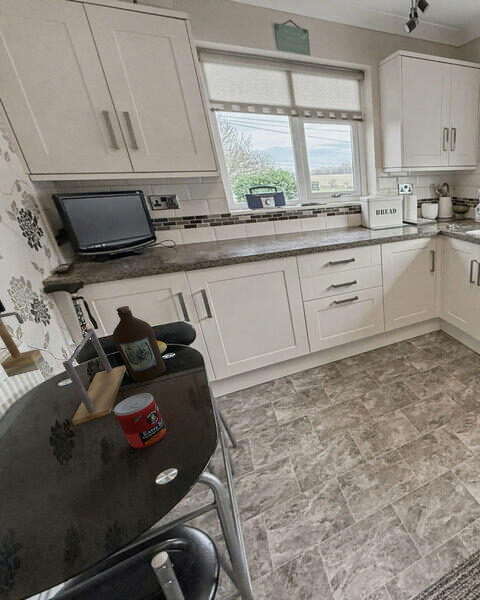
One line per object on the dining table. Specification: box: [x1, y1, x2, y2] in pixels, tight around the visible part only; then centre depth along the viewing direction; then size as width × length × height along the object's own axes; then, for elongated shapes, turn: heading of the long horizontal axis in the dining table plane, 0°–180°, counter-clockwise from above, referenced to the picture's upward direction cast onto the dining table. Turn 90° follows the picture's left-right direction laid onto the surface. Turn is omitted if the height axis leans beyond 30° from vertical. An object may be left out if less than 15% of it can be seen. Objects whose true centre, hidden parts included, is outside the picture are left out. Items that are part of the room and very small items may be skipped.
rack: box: [62, 327, 127, 426], centre depth 101 cm, size 8×30×18 cm, turn 32°
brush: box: [0, 311, 46, 378], centre depth 73 cm, size 6×4×20 cm
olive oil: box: [112, 305, 167, 383], centre depth 109 cm, size 11×11×25 cm
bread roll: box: [157, 340, 168, 354], centre depth 128 cm, size 8×9×4 cm
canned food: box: [113, 392, 167, 450], centre depth 81 cm, size 8×8×11 cm
